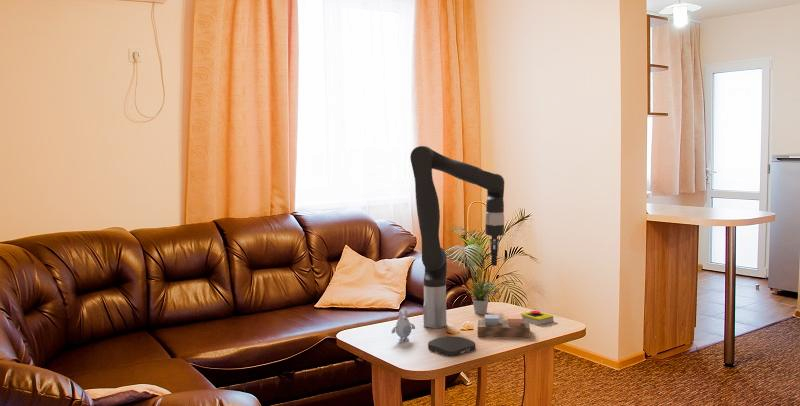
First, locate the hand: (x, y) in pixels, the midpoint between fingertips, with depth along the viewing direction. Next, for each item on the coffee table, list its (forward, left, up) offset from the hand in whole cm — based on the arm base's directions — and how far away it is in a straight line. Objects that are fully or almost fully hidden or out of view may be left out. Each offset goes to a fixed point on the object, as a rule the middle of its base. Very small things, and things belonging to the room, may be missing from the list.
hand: (494, 265), depth 238 cm
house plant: (-6, +21, -26) cm, 34 cm away
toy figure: (-35, -21, -26) cm, 48 cm away
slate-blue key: (-1, -8, -23) cm, 25 cm away
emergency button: (+18, +11, -27) cm, 34 cm away
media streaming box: (-16, -28, -26) cm, 42 cm away
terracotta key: (+8, -8, -23) cm, 26 cm away
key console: (+3, -8, -26) cm, 27 cm away
